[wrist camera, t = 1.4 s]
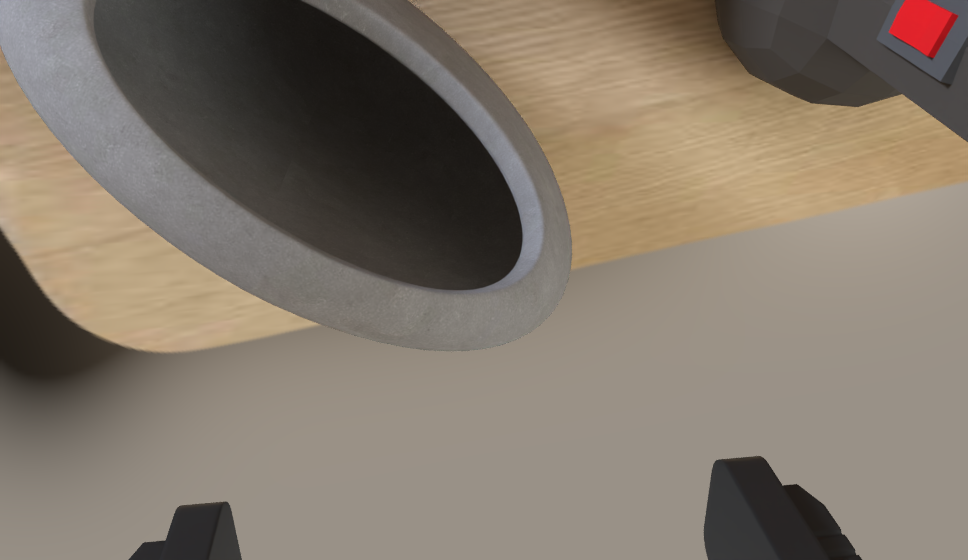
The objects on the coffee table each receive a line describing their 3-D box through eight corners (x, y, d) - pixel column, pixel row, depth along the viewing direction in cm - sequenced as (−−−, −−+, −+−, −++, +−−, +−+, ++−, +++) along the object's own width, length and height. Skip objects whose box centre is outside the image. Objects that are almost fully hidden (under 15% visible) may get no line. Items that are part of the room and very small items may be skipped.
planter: (589, 87, 34) (703, 359, 18) (490, 207, 37) (515, 531, 21) (186, -216, 28) (-163, -197, 12) (106, -42, 31) (-260, 155, 15)
